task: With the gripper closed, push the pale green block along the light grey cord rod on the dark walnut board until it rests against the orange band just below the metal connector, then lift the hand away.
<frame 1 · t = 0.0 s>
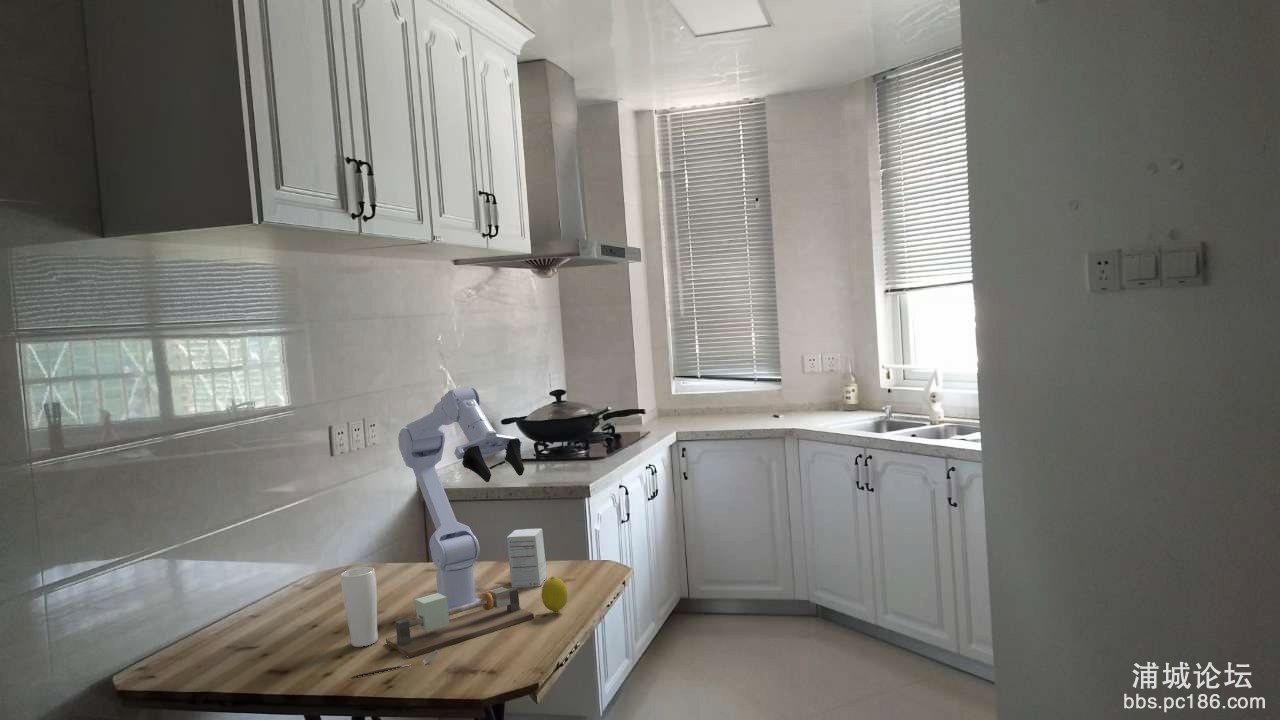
hand: (505, 475, 174), 32 cm above the table, tool tilted 50°, fingers open, 7 cm apart
drinking glass: (365, 644, 176), on the table
lemon: (556, 613, 185), on the table
fork: (395, 671, 160), on the table
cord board: (461, 630, 179), on the table
pale green block: (432, 612, 175), point 6 cm above the table, slide at 0.0 cm
supplement box: (529, 583, 209), on the table
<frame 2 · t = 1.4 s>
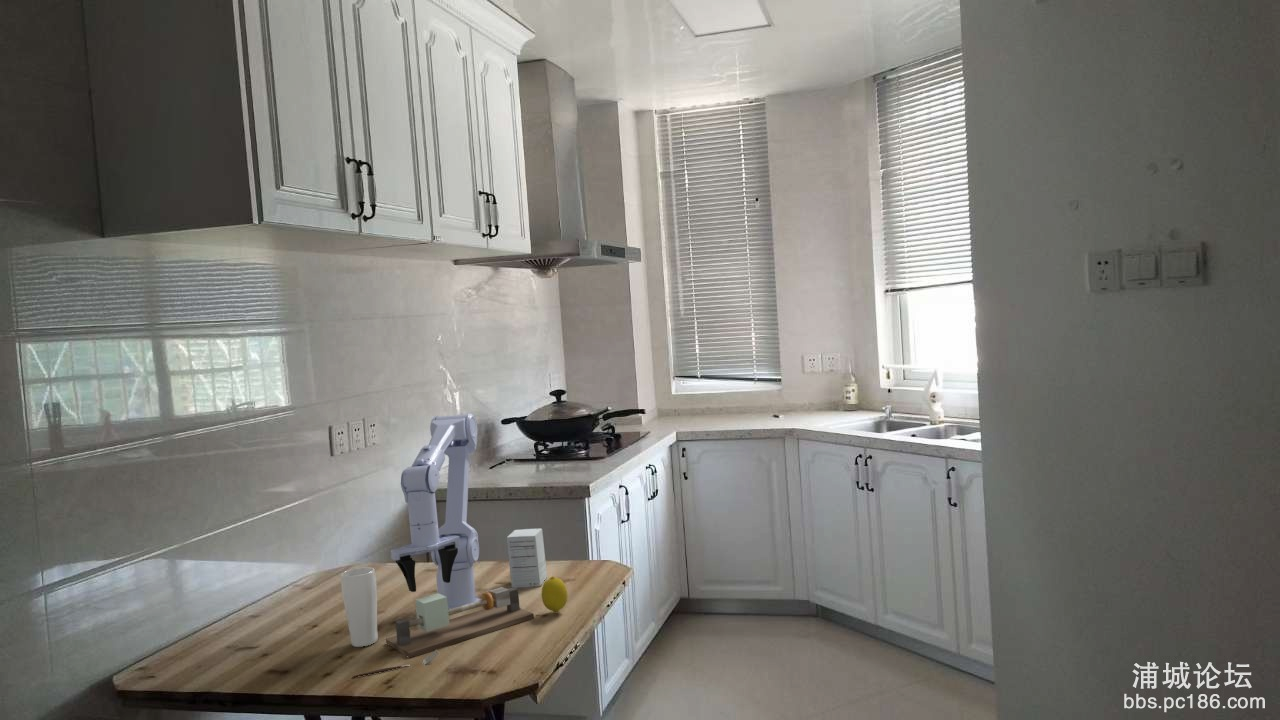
hand: (429, 586, 180), 10 cm above the table, tool pointing down, fingers open, 7 cm apart
nothing on the table moved.
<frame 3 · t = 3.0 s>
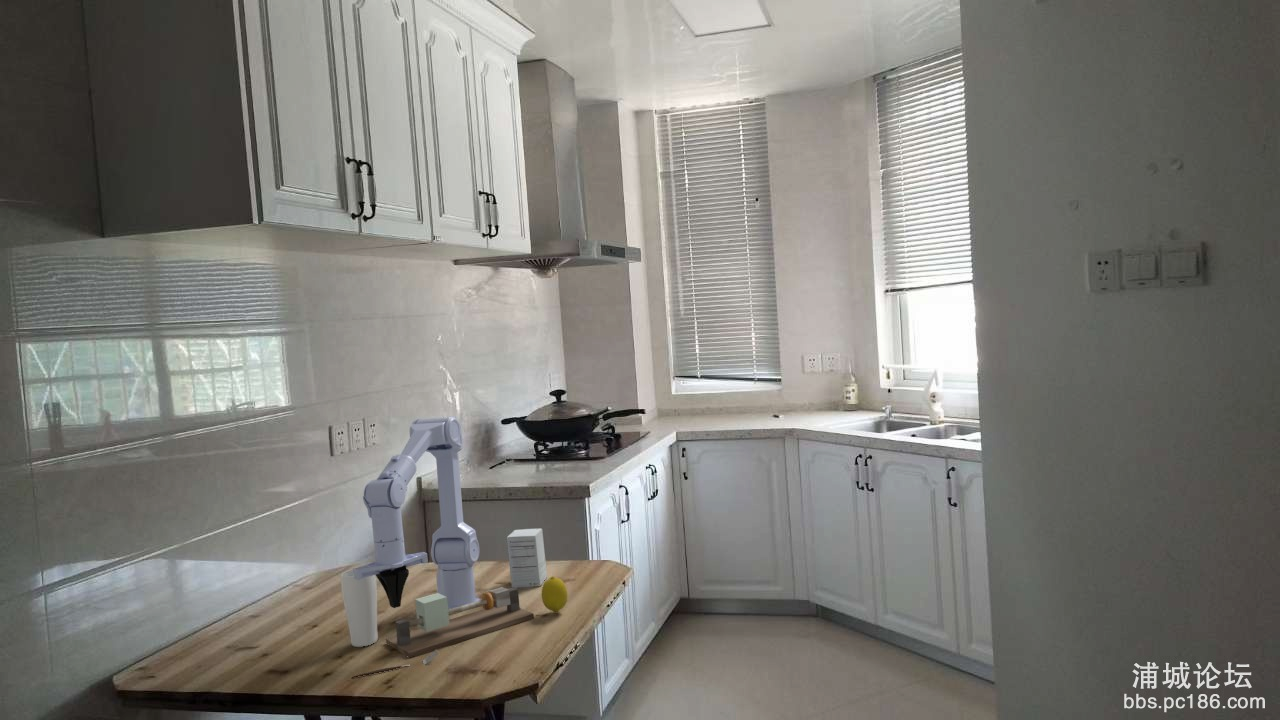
hand: (395, 606, 170), 9 cm above the table, tool pointing down, fingers closed
nothing on the table moved.
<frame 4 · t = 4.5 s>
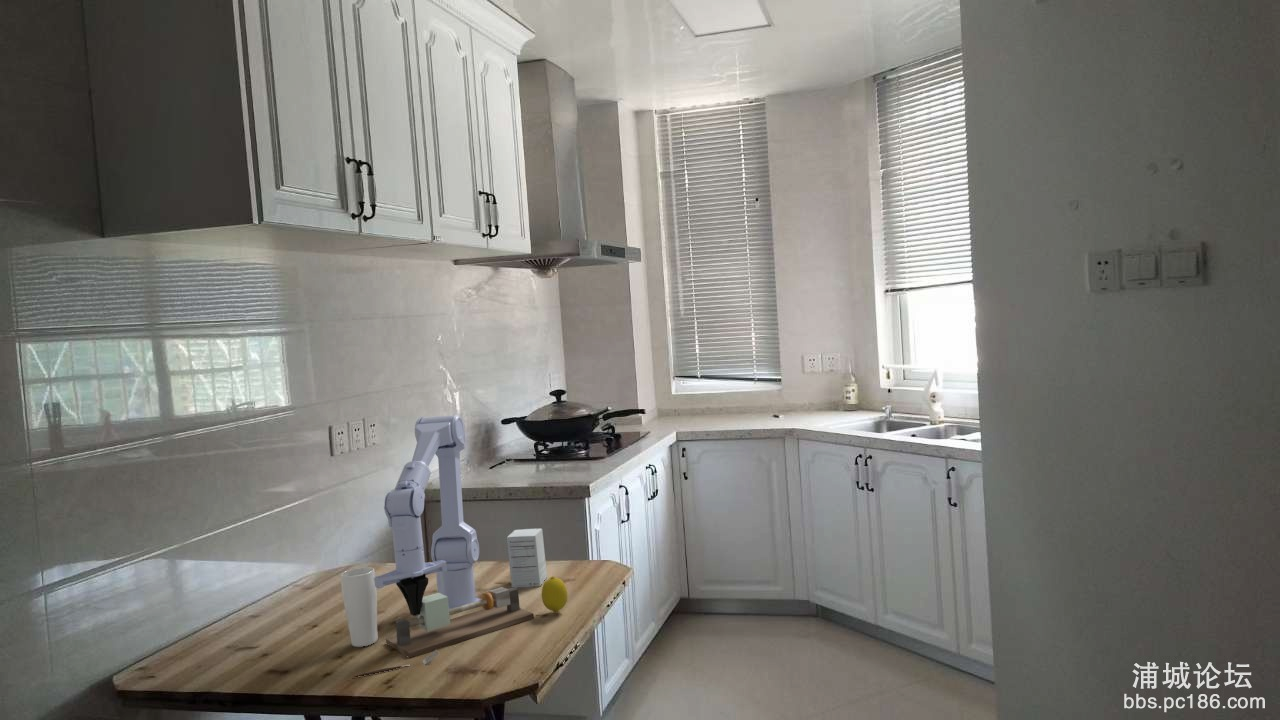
hand: (415, 614, 172), 6 cm above the table, tool pointing down, fingers closed
pale green block: (433, 611, 175), point 6 cm above the table, slide at 0.2 cm, touching gripper
everything else where it was.
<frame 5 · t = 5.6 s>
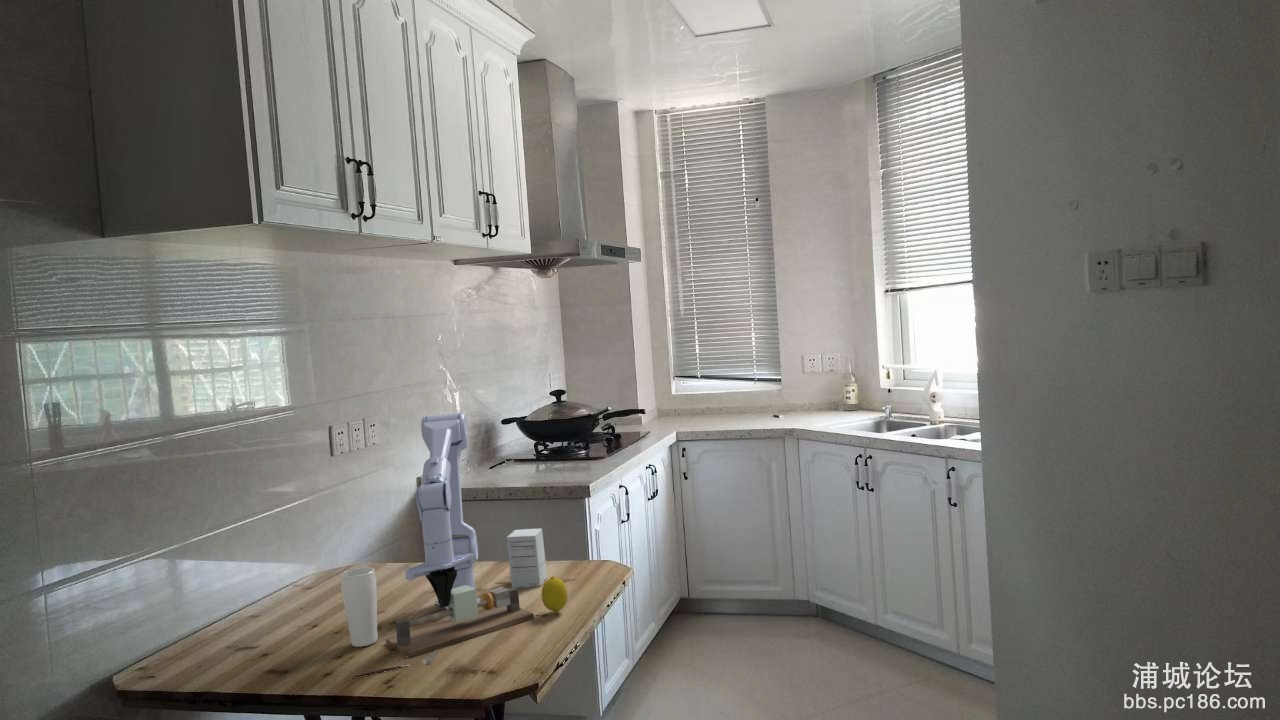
hand: (444, 605, 176), 6 cm above the table, tool pointing down, fingers closed
pale green block: (461, 603, 179), point 6 cm above the table, slide at 6.6 cm, touching gripper
everything else where it was.
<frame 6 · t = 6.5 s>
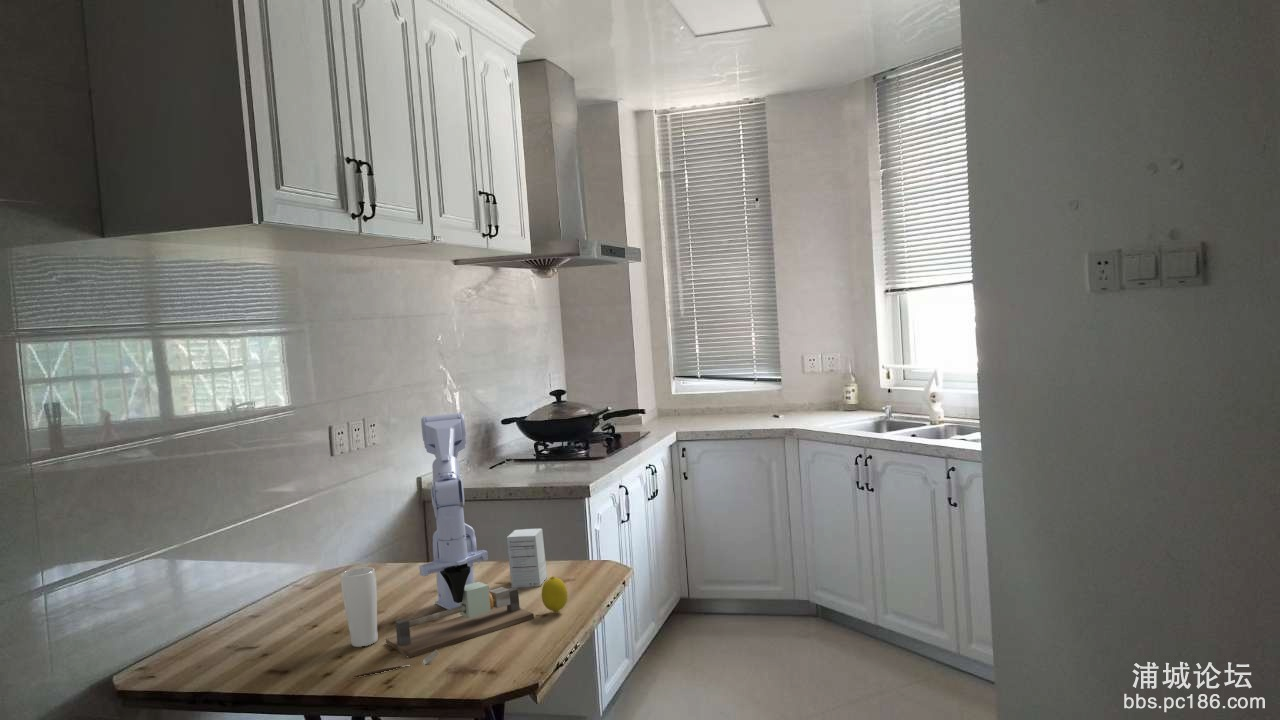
hand: (458, 601, 178), 6 cm above the table, tool pointing down, fingers closed
pale green block: (474, 599, 180), point 6 cm above the table, slide at 9.5 cm, touching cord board, gripper
everything else where it was.
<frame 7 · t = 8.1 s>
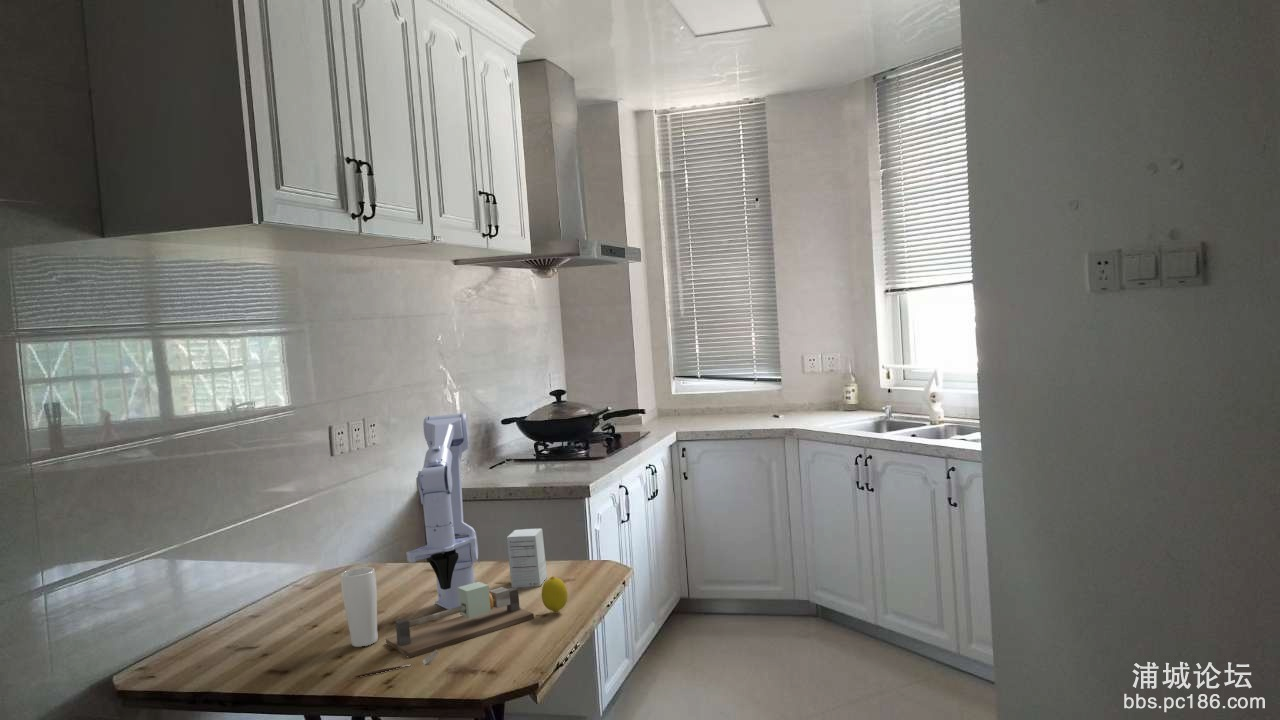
hand: (445, 588, 178), 9 cm above the table, tool pointing down, fingers closed
pale green block: (474, 599, 180), point 6 cm above the table, slide at 9.5 cm, touching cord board
everything else where it was.
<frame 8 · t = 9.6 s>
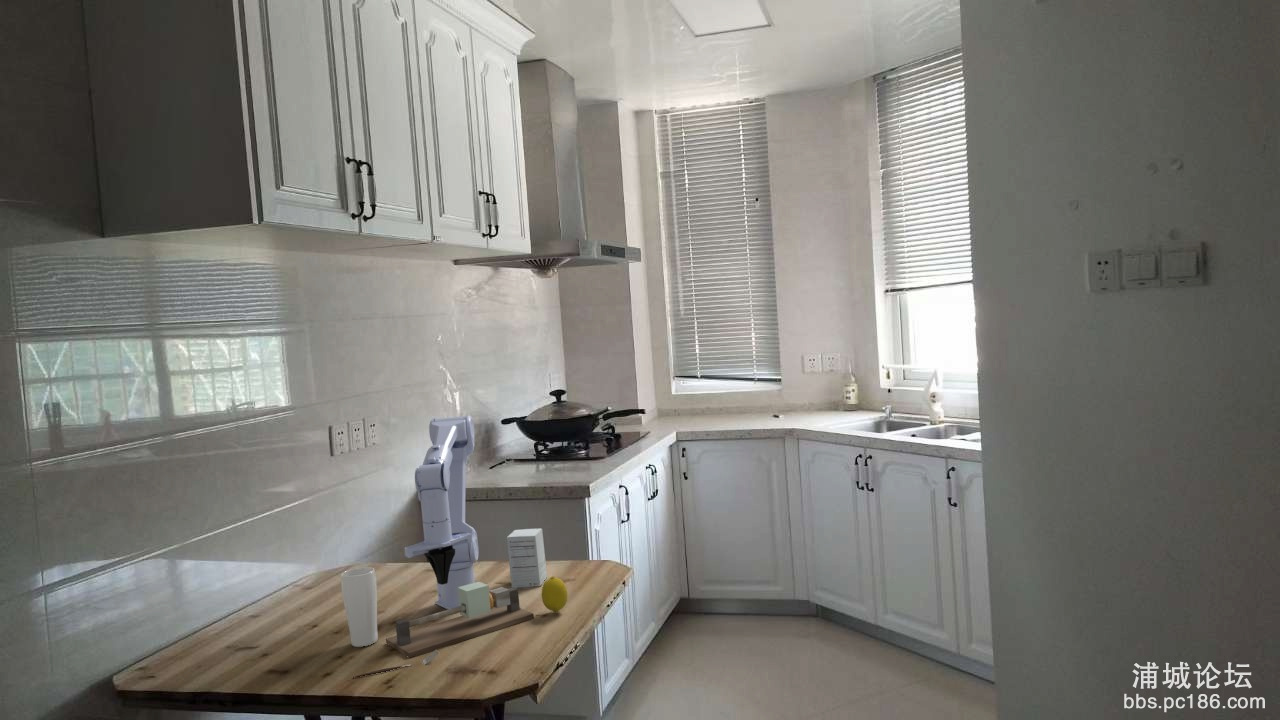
hand: (442, 583, 182), 9 cm above the table, tool pointing down, fingers closed
nothing on the table moved.
at the end: pale green block slide at 9.5 cm; the gripper is holding nothing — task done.
